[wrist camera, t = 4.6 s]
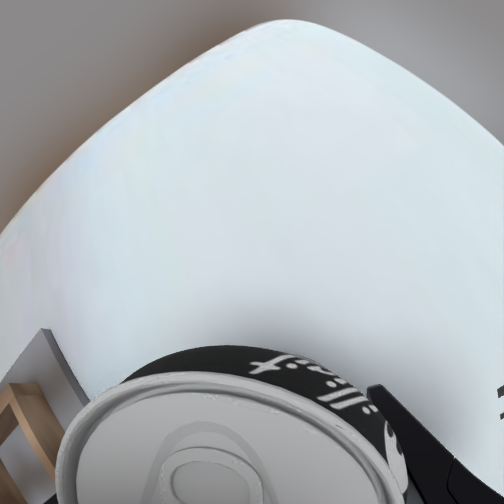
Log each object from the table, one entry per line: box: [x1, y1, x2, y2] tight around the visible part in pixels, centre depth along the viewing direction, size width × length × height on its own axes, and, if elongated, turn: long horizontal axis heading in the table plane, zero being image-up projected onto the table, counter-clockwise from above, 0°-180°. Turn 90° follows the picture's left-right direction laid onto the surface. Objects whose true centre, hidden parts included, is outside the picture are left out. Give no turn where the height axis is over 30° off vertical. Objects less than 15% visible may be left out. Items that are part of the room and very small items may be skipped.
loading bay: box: [0, 328, 90, 504], centre depth 14 cm, size 18×18×4 cm
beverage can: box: [55, 345, 408, 504], centre depth 8 cm, size 7×7×12 cm
